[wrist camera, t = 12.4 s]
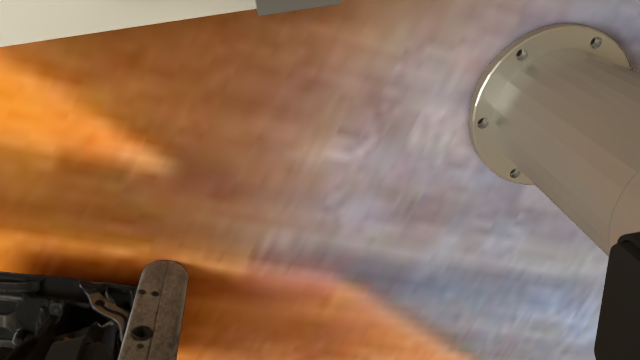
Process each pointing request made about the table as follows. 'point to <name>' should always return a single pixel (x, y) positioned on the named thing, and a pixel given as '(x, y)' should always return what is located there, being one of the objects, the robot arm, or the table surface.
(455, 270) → the table surface
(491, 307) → the table surface
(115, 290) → the vintage camera
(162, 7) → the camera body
